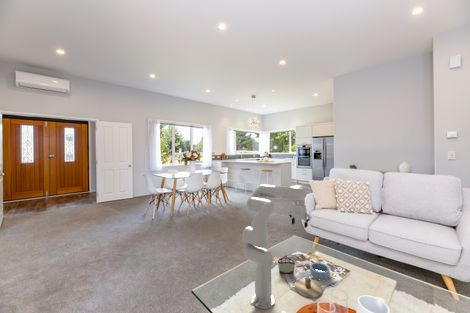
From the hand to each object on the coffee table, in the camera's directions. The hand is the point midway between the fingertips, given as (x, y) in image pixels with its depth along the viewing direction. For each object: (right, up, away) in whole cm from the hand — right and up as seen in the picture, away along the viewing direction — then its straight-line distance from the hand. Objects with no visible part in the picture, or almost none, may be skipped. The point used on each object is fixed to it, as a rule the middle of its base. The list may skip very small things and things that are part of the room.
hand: (299, 225), depth 153 cm
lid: (-1, -32, -22) cm, 39 cm away
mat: (-1, -33, -22) cm, 39 cm away
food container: (-11, -32, -4) cm, 34 cm away
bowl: (+11, -31, -9) cm, 35 cm away
